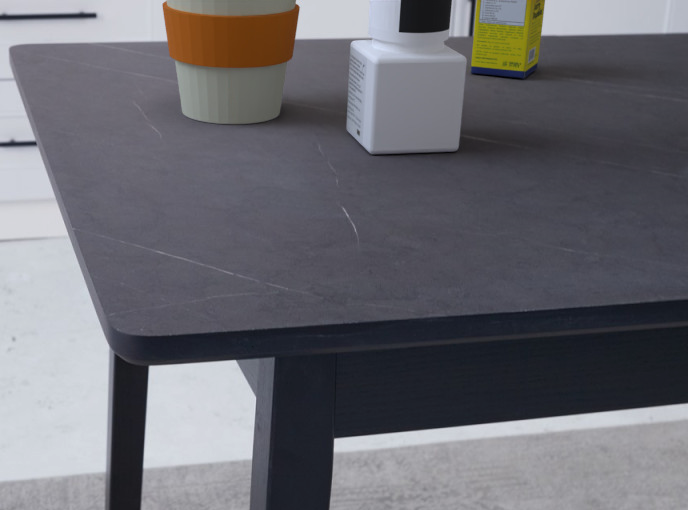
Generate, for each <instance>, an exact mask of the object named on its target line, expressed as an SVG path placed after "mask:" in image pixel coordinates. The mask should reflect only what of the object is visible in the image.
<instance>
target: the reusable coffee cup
mask: <svg viewBox="0 0 688 510" xmlns="http://www.w3.org/2000/svg"><path fill="white" fill-rule="evenodd" d="M300 9H301V7H300V5H299V4H298V3H297V0H165V1H163V3H162V12H163V20H164V26H165V34H166V39H167V40H166V41H167V48H168V52H169V53H168V54H169V57H170V58H171V59H172V60H174V63H175V70H176V71H175V72H176V77H177V78H176V79H177V84H178V85H177V86H178V91H179V100H180V106H181V112H182V114H183V116H185V117H187V118H189V119H192V120H193V121H194V120H195V121H199V122H203V123H208V124H219V125H246V124H247V125H248V124H257V123H263V122H267V121H271V120H274V119H276V118H277V117H278V116H280V113H281V109H282V108H281V107H282V101H283V95H284V94H283V93H284V87H285V80H286V73H287V67H288V62H289V61H291V60H292V59H293V57H294V49H295V42H296V36H297V30H298V23H299V15H300Z"/></svg>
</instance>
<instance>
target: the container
mask: <svg viewBox="0 0 688 510" xmlns="http://www.w3.org/2000/svg"><path fill="white" fill-rule="evenodd" d="M452 3H453V0H369V10H368V15H369V16H368V27H367V29H368V31H367V33H368V34H367V36H368V37H370V38H371V39H355V40H353V41H351V42H350V48H349V67H348V68H349V69H348V89H347V107H346V109H347V111H346V132H348V133H349V135H351V136H352V137H353V138H354V140H356V141H357V142H358V144H360V145H361V146H362V147H363V148H364V149H365V150H366V151H367V152H368V153H369V154H370V155H395V154H396V155H397V154H421V153H422V154H423V153H448V152H449V153H450V152H451V153H452V152H453V153H454V152H457V151H458V150H459V148H460V147H459V146H460V138H461V129H462V127H461V126H462V117H463V105H464V96H465V95H464V94H465V84H466V83H465V82H466V73H467V62H468V61H467V60H468V59H467V58H466V56H465V55H463V54H461V53H460V52H458V51H456V50H455V49H452V47H449V46H448V45H446V44H445V41H448V40H449V38H450V28H451V27H450V26H451V18H452V17H451V15H452Z"/></svg>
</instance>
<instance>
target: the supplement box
mask: <svg viewBox="0 0 688 510" xmlns="http://www.w3.org/2000/svg"><path fill="white" fill-rule="evenodd" d="M545 4H546V0H476V5H475V16H474V26H473V27H474V28H473V40H472V51H471V63H470V74H473V75H474V74H475V75H476V74H478V75H486V76H496V77H497V76H498V77H506V78H514V79H515V78H516V79H521V80H524V79H526V78H528V76H529V75H531V74H532V73H534V72H535V71H536V70H537V69H538V67H539V66H538V64H539V57H540V50H541V48H540V47H541V39H542V32H543V31H542V30H543V23H544V22H543V21H544V14H545Z"/></svg>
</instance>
